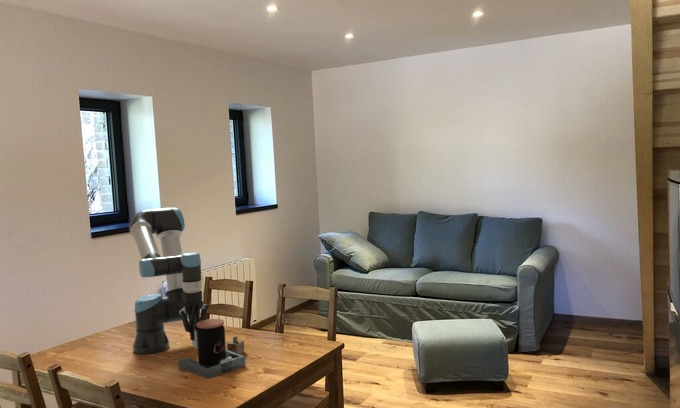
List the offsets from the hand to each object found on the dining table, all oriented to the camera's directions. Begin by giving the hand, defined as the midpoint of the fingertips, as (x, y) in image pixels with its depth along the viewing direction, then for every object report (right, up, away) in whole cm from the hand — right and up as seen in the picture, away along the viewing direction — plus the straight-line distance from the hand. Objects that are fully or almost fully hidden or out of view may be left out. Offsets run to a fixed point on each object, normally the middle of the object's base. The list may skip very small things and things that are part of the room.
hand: (195, 347), depth 233 cm
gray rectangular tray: (+10, -5, -10) cm, 15 cm away
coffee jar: (+9, -6, -9) cm, 14 cm away
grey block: (+16, -4, +6) cm, 17 cm away
